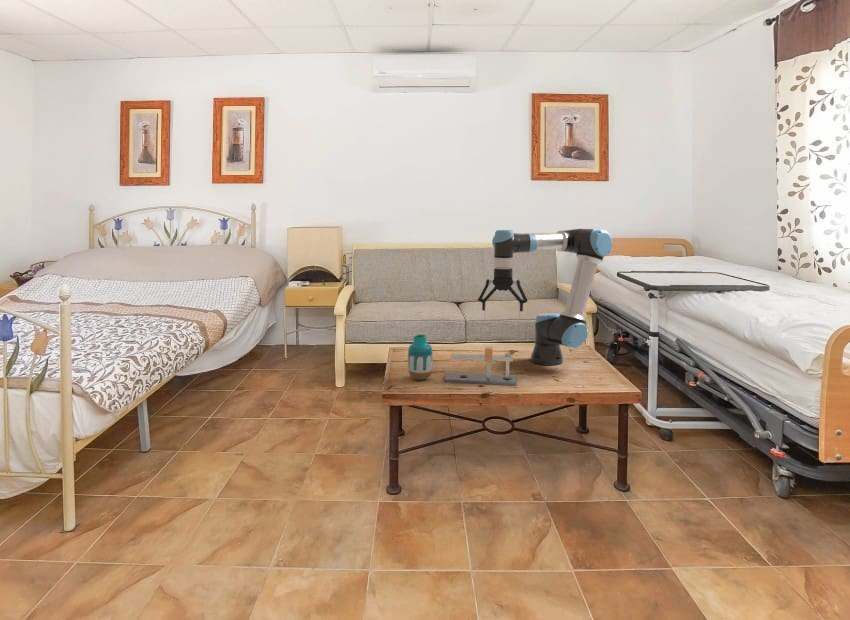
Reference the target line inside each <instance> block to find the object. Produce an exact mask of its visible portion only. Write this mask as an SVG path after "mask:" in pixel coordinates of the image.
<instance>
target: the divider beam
mask: <svg viewBox="0 0 850 620" xmlns="http://www.w3.org/2000/svg"><path fill="white" fill-rule="evenodd" d="M513 357H514V355H512V353H507V352H506V353H504V355H503V354H493V355H492V362H505V375H506V379H509V375H510V362H512V363H513V361H514V359H513ZM450 360H466V361H485V354H476V353H475V354H474V353H454V352H452V353H450Z"/></svg>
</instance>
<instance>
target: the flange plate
mask: <svg viewBox="0 0 850 620" xmlns="http://www.w3.org/2000/svg"><path fill="white" fill-rule="evenodd" d="M444 383H456V384H457V383H458V384H459V383H461V384H462V383H463V384H478V385H479V384H480V385H496V386H497V385H500V386H501V385H502V386H517V385H518V375H514V374H509V379H506V374H491V373H490V377H487V373H472V372H471V373H469V372H467V373H466V372H453V371H452V372H451V371H449V372H447V374H446V375H445V378H444Z"/></svg>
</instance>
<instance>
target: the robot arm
mask: <svg viewBox="0 0 850 620" xmlns="http://www.w3.org/2000/svg"><path fill="white" fill-rule="evenodd" d="M491 242H492V247H493V248H494V250H493V251H494V254H493V257H494V258H493V267H494V269H493V279H489V278H487V279H486V281H485V285H484V287H483V290H482V291H481V293H480V295H479V297H478V299H477V301H478V302H479V303H481V306H482V307H481V310H482V311H484V319H485V320H486V319H488V302H487V301H488V300H490V298H491V297H492V295H493V294H494V293H495V292H496V291H497V290H498V291H504V292H507V291H509V292H510V293H511V294H512V296H513V297H514V298H515V299H516V300H517V301H518V303H517V320H520V319H521V318H520V317H521V312H524V311H523V310H524V304H526V303H528V298H527V295H526V294H525V292H524V290H523V288H522V286H521V280H520V279H518V278H517V279H514V280H513V265H514V264H513V263H514V261H513V260H514V259H513V258H514V257H513V256H514V253H515V254H516V253H517V254H519V253H533V252H535V251H542V250H543V251H545V250H547V251H550V250H552V251H553V250H555V251H557V252H566V253H572V254H576V258H577V260H578V261H577V264H576V268H575V271H574V275H573V279H572V282H571V286H570V289H569V294H568V296H567V300H566V304H565V308H564V311H562V312H560V313H557V312H556V313H552V312H551V313H541V314H540V313H539V314H538V315H537V316H536V317H535V322H534V323H535V328H534V331H535V332H534V335H535V336H534V347H533V350H532V352H531V355H530V362H532V363H534V364H538V365H543V366H557V365H561V364H563V363H564V355H563V353H562V348H561V346H564V347H568V348H573V349H575V348H579V347H580V346H582V345H583V344H584V343H585V342H586V341H587V338H588V335H589V330H588V326H587V325H586V318H585V317H584V316H585V312H586V308H587V304H588V301H589V297H590V294H591V290H592V287H593V283H594V279H595V276H596V272H597V269H598V266H599V264H601V263H602V262H603V261H604V260H603V259H604V258H605V257H606V256H608V255H609V254H610V253H611V252H612V249H613V238H612V237H611V234H610V233H609V232H608V231H606V230H605V229H600V228H575V229H568V230H558V231H557V232H531V233H530V232H524V233H522V232H516V233H515V232H514V231H513V230H512V229H498V230H496V231H495V232H494V236H493V237H492V241H491ZM491 284H493V286H494V287H493V288H492V289H491V290H490V291H489V293H488V294H487V295H486V296H485V297H484V295H485V294H486V292H487V289H488V288H489V286H490V285H491ZM513 284H514V285H515V286H516V287H517V288H518V291H519V293H520V295H521V296H519V295H518V293H517V292H516V291H515V289H514V288H513V287H512V286H513ZM483 297H484V298H483Z"/></svg>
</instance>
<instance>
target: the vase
mask: <svg viewBox="0 0 850 620" xmlns="http://www.w3.org/2000/svg"><path fill="white" fill-rule="evenodd" d="M433 358H434V357H433V348H432V346H431V344H430V343H428V341H427V335H426V334H422V333H421V334H414V335H413V342H412V343H411V344H410V345H409V346H408V350H407V368H408V373H409V375H410V377H411V378H412V379H414V380H417V381H418V380H419V381H422V380H426V379H429V378H430V377H431V375H432V372H433Z"/></svg>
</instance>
